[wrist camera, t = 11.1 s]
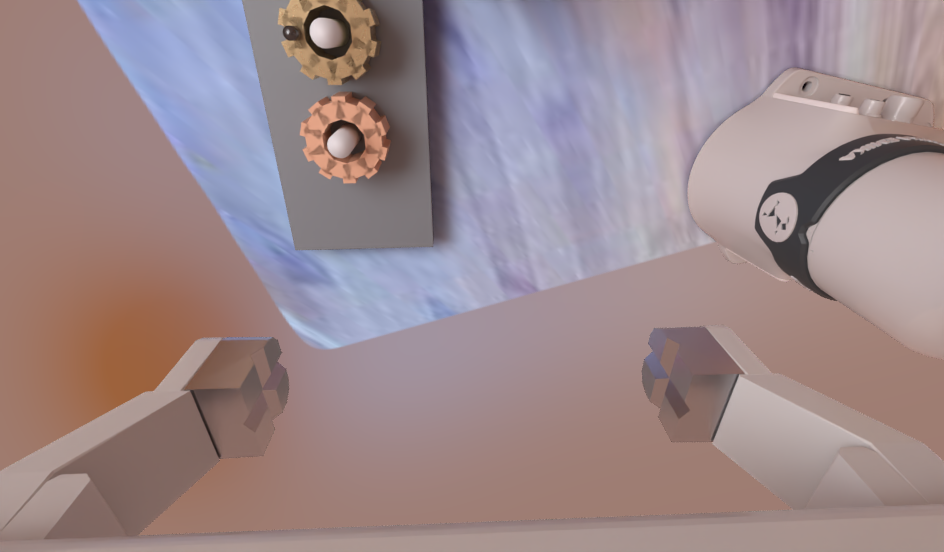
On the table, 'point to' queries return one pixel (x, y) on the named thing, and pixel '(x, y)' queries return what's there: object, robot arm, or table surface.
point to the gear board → (394, 98)
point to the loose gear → (320, 131)
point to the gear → (313, 58)
